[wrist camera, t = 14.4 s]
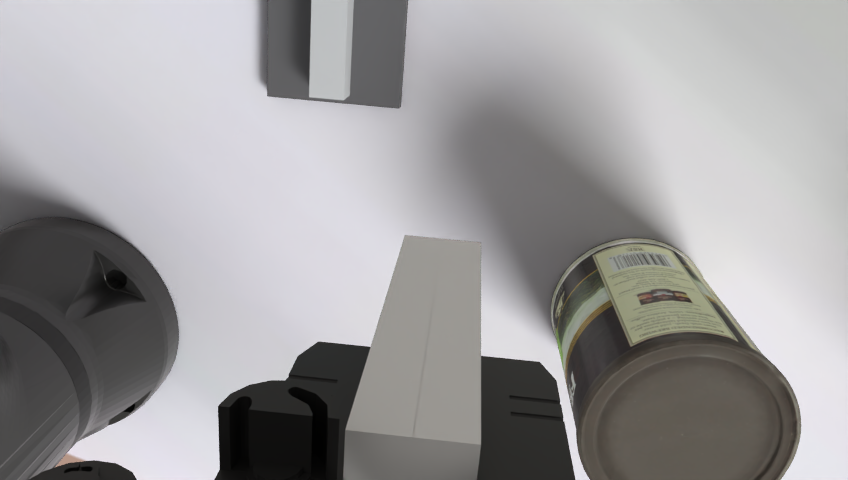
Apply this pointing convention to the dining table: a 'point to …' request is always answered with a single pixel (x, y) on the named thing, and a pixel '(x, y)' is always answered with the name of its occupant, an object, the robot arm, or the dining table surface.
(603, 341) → the coffee can
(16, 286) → the robot arm
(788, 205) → the dining table surface
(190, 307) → the dining table surface
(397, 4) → the rail
